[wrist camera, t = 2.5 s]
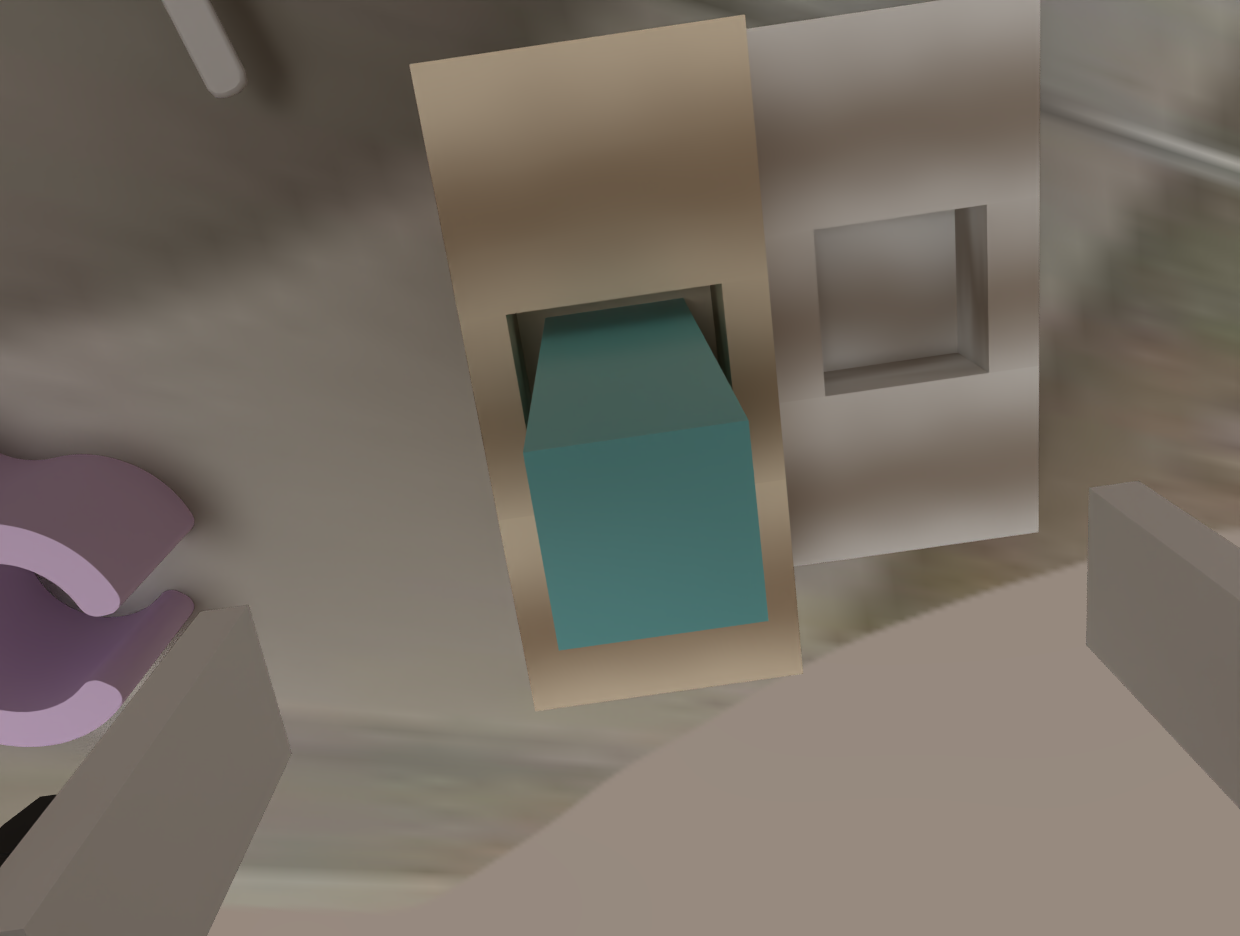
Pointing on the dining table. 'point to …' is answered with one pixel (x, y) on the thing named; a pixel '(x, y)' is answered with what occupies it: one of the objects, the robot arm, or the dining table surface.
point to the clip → (80, 591)
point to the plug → (641, 479)
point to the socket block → (764, 279)
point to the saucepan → (208, 46)
